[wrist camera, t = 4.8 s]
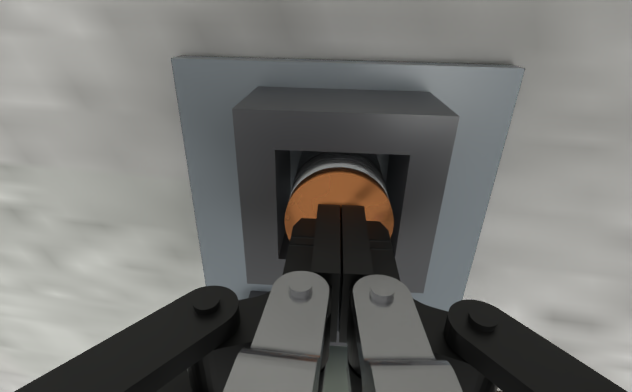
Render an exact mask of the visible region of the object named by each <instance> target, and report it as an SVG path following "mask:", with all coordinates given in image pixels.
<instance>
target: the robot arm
mask: <svg viewBox="0 0 632 392" xmlns="http://www.w3.org/2000/svg"><path fill="white" fill-rule="evenodd" d="M338 306H339V342H340V343H347V352H348V355H347V367H346V372H347V381H348V390H349V392H497V388H500V389H501V390H502V391H503V392H627V391H626V390H624V389H622V388H621V387H619V386H618V385H616V384H615V383H613V382H612V381H610V380H608V379H607V378H605V377H604V376H602V375H601V374H599V373H598V372H596V371H594V370H593V369H591V368H590V367H588V366H587V365H585V364H584V363H582V362H580V361H579V360H577V359H576V358H574V357H573V356H571V355H570V354H568V353H566V352H565V351H563V350H562V349H560V348H559V347H557V346H556V345H554V344H552V343H551V342H549V341H548V340H546V339H545V338H543V337H542V336H540V335H538V334H537V333H535V332H534V331H532V330H531V329H529V328H528V327H526V326H524V325H523V324H521V323H520V322H518V321H517V320H515V319H514V318H512V317H510V316H509V315H507V314H506V313H504V312H503V311H501V310H500V309H498V308H496V307H494V306H492V305H490V304H488V303H485V302H482V301H477V300H461V301H458V302H456V303H454V304H453V305H451V307H450V308H449V311H444V310H441V309H437V308H434V307H431V306H428V305H425V304H423V303H420V302H418V301H417V300H415V299H414V298H412V295H411V293H410V291H409V289H408V288H407V287H406V286H405V285H404V284H403V283H402V282H401V281H400V277H399V273H398V269H397V264H396V260H395V256H394V252H393V248H392V243H391V239H390V235H389V231H388V229H387V228H386V227H385V226H384V225H383V224H382V223H381V222H380V221H366V216H365V209H364V206H357V205H342V208H341V226H340V205H331V204H318V209H317V218H316V219H313V218H301V219H300V220H299V221H298V222H297V223H296V224H295V225H294V226H293V229H292V233H291V238H290V243H289V247H288V252H287V256H286V261H285V266H284V270H283V275H282V276H281V277H279V278H278V279H277V280H276V281H275V282H274V284H273V286H272V289H271V291H269V292H267V293H265V294H263V295H260V296H257V297H252V298H247V299H242V300H238V297H237V295H236V294H235V293H234V292H233V291H232V290H231V289H229V288H226V287H223V286H205V287H201V288H198V289H195V290H193V291H191V292H189V293H188V294H186V295H184V296H182V297H181V298H179V299H177V300H175V301H173V302H172V303H170V304H168V305H166V306H165V307H163V308H161V309H159V310H158V311H156V312H154V313H152V314H151V315H149V316H147V317H145V318H143V319H142V320H140V321H138V322H136V323H135V324H133V325H131V326H129V327H128V328H126V329H124V330H122V331H121V332H119V333H117V334H115V335H113V336H112V337H110V338H108V339H106V340H105V341H103V342H101V343H99V344H98V345H96V346H94V347H92V348H90V349H89V350H87V351H85V352H83V353H82V354H80V355H78V356H76V357H75V358H73V359H71V360H69V361H68V362H66V363H64V364H62V365H60V366H59V367H57V368H55V369H53V370H52V371H50V372H48V373H46V374H45V375H43V376H41V377H39V378H38V379H36V380H34V381H32V382H30V383H29V384H27V385H25V386H23V387H22V388H20V389H18V390H16V391H15V392H323V389H324V381H325V372H326V363H327V361H328V359H329V347H330V342H336V339H337V323H338Z"/></svg>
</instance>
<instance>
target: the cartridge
mask: <svg viewBox="0 0 632 392" xmlns="http://www.w3.org/2000/svg"><path fill="white" fill-rule="evenodd" d="M347 355H348V352H347V347H345V346H330V347H329V359H328V361H327V363H326V372H325V381H324V389H323V392H349V390H348V381H347V372H346V367H347Z"/></svg>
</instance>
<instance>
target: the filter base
mask: <svg viewBox="0 0 632 392" xmlns="http://www.w3.org/2000/svg"><path fill="white" fill-rule="evenodd" d="M171 62H172V68H173V75H174V81H175V88H176V94H177V101H178V107H179V114H180V120H181V127H182V133H183V140H184V146H185V153H186V159H187V166H188V172H189V179H190V186H191V192H192V199H193V205H194V212H195V218H196V225H197V231H198V238H199V244H200V251H201V257H202V264H203V270H204V277H205V283H206V286H223V287H226V288H229V289H231V290H232V291H233V292H234V293H235V294H236V295H237V297H238V300H242V299H247V298H252V297H257V296H260V295H263V294H265V293H267V292H269V291H271V289H272V286H273V284H274V282H275V281H276V280H277V279H278V278H279V277H281V276H282V275H283V270H284V266H285V261H286V256H287V252H288V247H289V243H290V240H289V238H288V236H287V234H286V230H285V213H286V208H287V205H288V201H289V197H290V194H291V190H292V186H293V183H294V179H295V175H296V172H297V168H298V165H299V161H300V157H301V155H302V152H303V151H318V152H344V153H369V154H377V157H378V161H379V164H380V168H381V172H382V175H383V179H384V182H385V186H386V190H387V193H388V197H389V200H390V204H391V208H392V211H393V217H394V227H393V232H392V235H391V238H390V239H391V243H392V248H393V252H394V256H395V260H396V264H397V269H398V273H399V277H400V281H401V282H402V283H403V284H404V285H405V286H406V287H407V288H408V289H409V291H410V293H411V295H412V298H414V299H415V300H417V301H418V302H420V303H423V304H425V305H428V306H431V307H434V308H437V309H441V310H444V311H449V308H450V307H451V305H453V304H454V303H456V302H458V301H461V300H462V298H463V295H464V291H465V287H466V284H467V280H468V276H469V273H470V269H471V265H472V262H473V258H474V254H475V251H476V247H477V243H478V240H479V236H480V232H481V229H482V225H483V221H484V218H485V214H486V210H487V207H488V203H489V199H490V196H491V192H492V188H493V185H494V181H495V177H496V174H497V170H498V166H499V162H500V159H501V155H502V151H503V148H504V144H505V140H506V137H507V133H508V129H509V126H510V122H511V118H512V115H513V111H514V107H515V104H516V100H517V96H518V93H519V89H520V85H521V82H522V78H523V74H524V71H525V68H522V67H519V66H515V65H491V64H456V63H420V62H385V61H350V60H314V59H279V58H244V57H208V56H178V57H173V58H171ZM330 346H345V347H347V343H340V342H339V306H338V323H337V339H336V342H330Z"/></svg>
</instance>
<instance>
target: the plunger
mask: <svg viewBox="0 0 632 392" xmlns="http://www.w3.org/2000/svg"><path fill="white" fill-rule="evenodd" d="M318 204H331V205H340V226H341V208H342V205H357V206H364V209H365V216H366V221H380V222H381V223H382V224H383V225H384V226H385V227H386V228H387V229H388V231H389V235H390V238H391V235H392V232H393V227H394V217H393V211H392V208H391V204H390V200H389V197H388V193H387V190H386V186H385V182H384V179H383V175H382V172H381V168H380V164H379V161H378V157H377V154H369V153H344V152H318V151H303V152H302V155H301V157H300V161H299V165H298V168H297V172H296V175H295V179H294V183H293V186H292V190H291V194H290V197H289V201H288V205H287V208H286V213H285V230H286V234H287V236H288V238H289V240H290V238H291V233H292V229H293V226H294V225H295V224H296V223H297V222H298V221H299V220H300V219H301V218H313V219H316V218H317V209H318Z"/></svg>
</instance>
